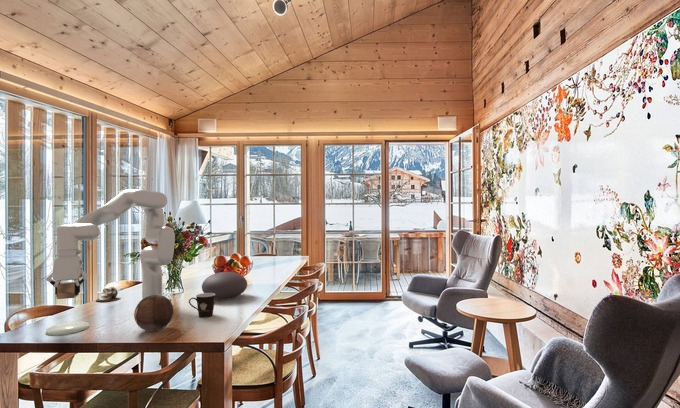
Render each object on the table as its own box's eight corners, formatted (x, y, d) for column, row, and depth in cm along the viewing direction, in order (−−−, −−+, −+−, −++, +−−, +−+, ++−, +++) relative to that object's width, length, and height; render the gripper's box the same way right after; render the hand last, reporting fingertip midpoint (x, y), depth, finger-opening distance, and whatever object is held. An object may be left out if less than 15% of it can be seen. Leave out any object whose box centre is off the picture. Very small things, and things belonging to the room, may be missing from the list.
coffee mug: (219, 314, 187) (219, 293, 187) (206, 319, 180) (205, 297, 180) (201, 311, 192) (200, 291, 192) (187, 316, 184) (187, 295, 184)
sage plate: (92, 322, 176) (92, 320, 176) (83, 332, 161) (83, 329, 161) (53, 326, 170) (53, 323, 170) (40, 337, 156) (40, 334, 156)
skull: (109, 301, 211) (99, 286, 213) (98, 312, 214) (88, 298, 215) (127, 295, 223) (116, 281, 225) (116, 306, 225) (106, 293, 227)
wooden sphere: (174, 323, 173) (174, 290, 174) (171, 333, 159) (171, 297, 159) (137, 327, 169) (137, 292, 169) (131, 338, 154) (130, 300, 155)
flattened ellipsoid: (202, 295, 228) (202, 270, 228) (245, 292, 236) (245, 267, 236) (200, 305, 205) (200, 277, 205) (248, 301, 212) (248, 274, 212)
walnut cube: (78, 294, 170) (77, 281, 170) (73, 297, 164) (73, 283, 164) (61, 296, 168) (61, 282, 168) (57, 299, 162) (57, 284, 162)
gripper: (93, 251, 173) (93, 291, 172) (46, 253, 167) (46, 295, 166) (88, 253, 165) (88, 295, 165) (40, 255, 159) (40, 299, 159)
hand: (67, 294), depth 166 cm, fingers closed on walnut cube, 6 cm apart
